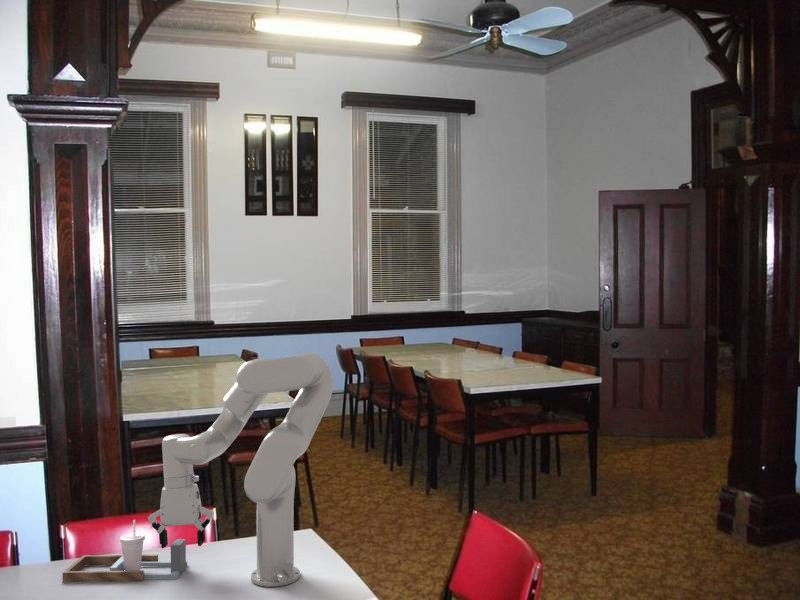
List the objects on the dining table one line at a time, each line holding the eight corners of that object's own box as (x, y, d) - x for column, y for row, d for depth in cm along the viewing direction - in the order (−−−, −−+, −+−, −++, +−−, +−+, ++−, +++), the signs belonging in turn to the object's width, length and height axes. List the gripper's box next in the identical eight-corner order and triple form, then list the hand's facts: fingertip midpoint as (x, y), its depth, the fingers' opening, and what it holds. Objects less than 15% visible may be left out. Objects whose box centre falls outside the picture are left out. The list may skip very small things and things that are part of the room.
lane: (158, 563, 199) (158, 554, 199) (142, 581, 187) (142, 571, 186) (83, 564, 199) (83, 555, 199) (62, 582, 186) (62, 572, 186)
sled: (188, 565, 197) (187, 536, 197) (177, 578, 188) (177, 548, 188) (123, 566, 197) (122, 536, 197) (109, 579, 188) (109, 549, 188)
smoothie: (140, 577, 190) (139, 523, 189) (115, 577, 190) (115, 524, 189) (148, 567, 196) (148, 516, 196) (125, 568, 196) (124, 516, 196)
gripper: (214, 476, 196) (218, 538, 196) (151, 479, 196) (155, 542, 196) (207, 483, 189) (211, 548, 189) (141, 487, 189) (145, 552, 189)
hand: (182, 545), depth 192 cm, fingers open, 9 cm apart
